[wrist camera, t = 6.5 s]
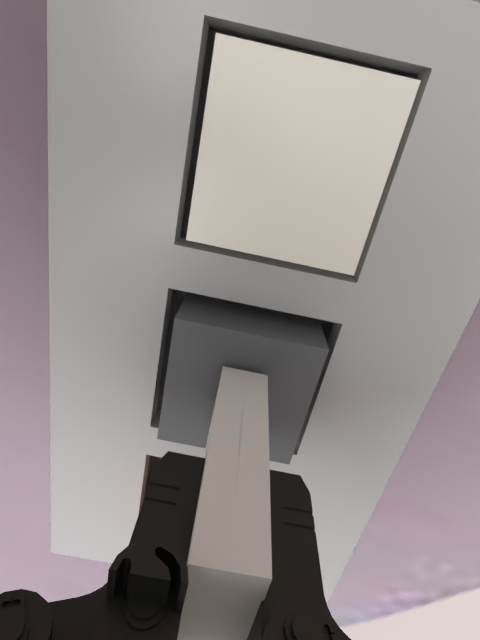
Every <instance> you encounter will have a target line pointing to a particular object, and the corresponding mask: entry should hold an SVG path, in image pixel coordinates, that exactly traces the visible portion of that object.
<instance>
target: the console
mask: <svg viewBox="0 0 480 640" xmlns="http://www.w3.org/2000/svg"><path fill="white" fill-rule="evenodd" d="M216 33H220V34H224V35H228V36H233V37H237V38H241V39H245V40H250V41H254V42H258V43H263V44H267V45H271V46H275V47H280V48H284V49H288V50H293V51H297V52H301V53H305V54H310V55H314V56H318V57H323V58H327V59H331V60H335V61H340V62H344V63H348V64H352V65H357V66H361V67H365V68H370V69H374V70H378V71H382V72H387V73H391V74H395V75H400V76H404V77H408V78H412V79H417V80H421V82H420V85H419V88H418V91H417V93H416V96H415V99H414V102H413V105H412V108H411V111H410V114H409V117H408V120H407V123H406V125H405V128H404V131H403V134H402V137H401V140H400V143H399V146H398V149H397V152H396V155H395V157H394V160H393V163H392V166H391V169H390V172H389V175H388V178H387V181H386V184H385V187H384V189H383V192H382V195H381V198H380V201H379V204H378V207H377V210H376V213H375V216H374V218H373V221H372V224H371V227H370V230H369V233H368V236H367V239H366V242H365V245H364V248H363V250H362V253H361V256H360V259H359V262H358V265H357V268H356V271H355V274H354V276H353V275H348V274H343V273H339V272H334V271H329V270H325V269H320V268H315V267H311V266H306V265H301V264H296V263H292V262H287V261H282V260H278V259H273V258H268V257H264V256H259V255H254V254H249V253H245V252H240V251H235V250H231V249H226V248H221V247H217V246H212V245H207V244H202V243H198V242H193V241H188V240H186V236H187V229H188V222H189V216H190V209H191V202H192V195H193V188H194V181H195V174H196V167H197V160H198V153H199V146H200V139H201V132H202V125H203V118H204V112H205V105H206V98H207V91H208V84H209V77H210V70H211V63H212V56H213V49H214V42H215V35H216ZM47 104H48V230H49V355H50V480H51V552H52V553H57V554H63V555H68V556H74V557H79V558H85V559H90V560H96V561H102V562H107V563H113V562H114V560H115V558H116V556H117V555H118V554H119V553H120V552H121V551H123V550H124V549H125V548H126V547H127V546H128V545H129V542H130V539H131V536H132V533H133V530H134V527H135V524H136V521H137V518H138V515H139V512H140V509H141V506H142V503H143V501H144V497H145V494H146V491H147V488H148V486H149V482H150V479H151V476H152V473H153V470H154V467H155V464H156V463H157V462H158V461H159V458H160V457H161V458H162V457H163V456H164V455H165V454H166V453H167V452H168V451H170V452H175V453H181V454H186V455H191V456H196V457H201V458H204V455H205V449H206V448H201V447H196V446H191V445H185V444H180V443H175V442H170V441H165V440H160V439H157V435H158V428H159V421H160V414H161V407H162V400H163V394H164V387H165V380H166V373H167V366H168V359H169V352H170V345H171V338H172V331H173V324H174V318H175V316H176V314H177V312H178V310H179V308H180V306H181V304H182V302H183V300H184V298H185V296H186V294H187V292H190V293H195V294H200V295H204V296H209V297H214V298H219V299H224V300H228V301H233V302H238V303H243V304H248V305H252V306H257V307H262V308H267V309H272V310H277V311H281V312H286V313H291V314H296V315H301V316H305V317H310V318H315V319H319V320H320V323H321V326H322V329H323V332H324V336H325V339H326V342H327V345H328V348H329V352H328V354H327V357H326V360H325V363H324V366H323V369H322V372H321V375H320V378H319V381H318V383H317V386H316V389H315V392H314V395H313V398H312V401H311V404H310V407H309V410H308V412H307V415H306V418H305V421H304V424H303V427H302V430H301V433H300V436H299V439H298V441H297V444H296V447H295V450H294V453H293V456H292V459H291V462H290V465H289V464H284V463H279V462H274V461H270V470H275V471H280V472H285V473H290V474H296V475H300V476H301V477H302V479H303V481H304V483H305V485H306V486H307V488H308V490H309V492H310V495H311V502H312V510H313V513H312V515H313V517H314V524H315V532H316V539H317V546H318V554H319V561H320V568H321V576H322V583H323V590H324V596H325V600H326V602H328V600H329V598H330V596H331V594H332V592H333V590H334V588H335V586H336V584H337V582H338V580H339V578H340V576H341V574H342V572H343V570H344V568H345V566H346V565H347V563H348V561H349V559H350V557H351V555H352V553H353V551H354V549H355V547H356V545H357V543H358V541H359V539H360V537H361V535H362V533H363V531H364V529H365V527H366V525H367V523H368V521H369V519H370V517H371V515H372V513H373V511H374V509H375V507H376V505H377V503H378V501H379V499H380V497H381V495H382V493H383V491H384V489H385V487H386V485H387V483H388V481H389V479H390V477H391V475H392V473H393V471H394V469H395V467H396V465H397V463H398V461H399V459H400V457H401V455H402V453H403V451H404V449H405V447H406V445H407V443H408V441H409V439H410V437H411V435H412V433H413V431H414V429H415V427H416V425H417V423H418V421H419V419H420V417H421V415H422V413H423V411H424V409H425V407H426V405H427V404H428V402H429V400H430V398H431V396H432V394H433V392H434V390H435V388H436V386H437V384H438V382H439V380H440V378H441V376H442V374H443V372H444V370H445V368H446V366H447V364H448V362H449V360H450V358H451V356H452V354H453V352H454V350H455V348H456V346H457V344H458V342H459V340H460V338H461V336H462V334H463V332H464V330H465V328H466V326H467V324H468V322H469V320H470V318H471V316H472V314H473V312H474V310H475V308H476V306H477V304H478V302H479V300H480V2H477V1H473V0H47Z"/></svg>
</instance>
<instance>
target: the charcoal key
mask: <svg viewBox="0 0 480 640" xmlns="http://www.w3.org/2000/svg"><path fill="white" fill-rule="evenodd" d="M328 352H329V348H328V345H327V342H326V339H325V336H324V332H323V329H322V326H321V323H320V320H319V319H315V318H310V317H305V316H301V315H296V314H291V313H286V312H281V311H277V310H272V309H267V308H262V307H257V306H252V305H248V304H243V303H238V302H233V301H228V300H224V299H219V298H214V297H209V296H204V295H200V294H195V293H190V292H187V294H186V296H185V298H184V300H183V302H182V304H181V306H180V308H179V310H178V312H177V314H176V316H175V318H174V324H173V331H172V338H171V345H170V352H169V359H168V366H167V373H166V380H165V387H164V394H163V400H162V407H161V414H160V421H159V428H158V435H157V439H160V440H165V441H170V442H175V443H180V444H185V445H191V446H196V447H201V448H206V444H207V439H208V433H209V428H210V424H211V419H212V414H213V410H214V405H215V400H216V396H217V391H218V386H219V382H220V377H221V372H222V368H223V366H225V367H230V368H235V369H240V370H245V371H250V372H254V373H259V374H264V375H268V417H269V461H274V462H279V463H284V464H289V465H290V462H291V459H292V456H293V453H294V450H295V447H296V444H297V441H298V439H299V436H300V433H301V430H302V427H303V424H304V421H305V418H306V415H307V412H308V410H309V407H310V404H311V401H312V398H313V395H314V392H315V389H316V386H317V383H318V381H319V378H320V375H321V372H322V369H323V366H324V363H325V360H326V357H327V354H328Z"/></svg>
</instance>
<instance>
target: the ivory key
mask: <svg viewBox="0 0 480 640" xmlns="http://www.w3.org/2000/svg"><path fill="white" fill-rule="evenodd" d="M420 82H421V80H417V79H412V78H408V77H404V76H400V75H395V74H391V73H387V72H382V71H378V70H374V69H370V68H365V67H361V66H357V65H352V64H348V63H344V62H340V61H335V60H331V59H327V58H323V57H318V56H314V55H310V54H305V53H301V52H297V51H293V50H288V49H284V48H280V47H275V46H271V45H267V44H263V43H258V42H254V41H250V40H245V39H241V38H237V37H233V36H228V35H224V34H220V33H216V35H215V42H214V49H213V56H212V63H211V70H210V77H209V84H208V91H207V98H206V105H205V112H204V118H203V125H202V132H201V139H200V146H199V153H198V160H197V167H196V174H195V181H194V188H193V195H192V202H191V209H190V216H189V222H188V229H187V236H186V240H188V241H193V242H198V243H202V244H207V245H212V246H217V247H221V248H226V249H231V250H235V251H240V252H245V253H249V254H254V255H259V256H264V257H268V258H273V259H278V260H282V261H287V262H292V263H296V264H301V265H306V266H311V267H315V268H320V269H325V270H329V271H334V272H339V273H343V274H348V275H353V276H354V274H355V271H356V268H357V265H358V262H359V259H360V256H361V253H362V250H363V248H364V245H365V242H366V239H367V236H368V233H369V230H370V227H371V224H372V221H373V218H374V216H375V213H376V210H377V207H378V204H379V201H380V198H381V195H382V192H383V189H384V187H385V184H386V181H387V178H388V175H389V172H390V169H391V166H392V163H393V160H394V157H395V155H396V152H397V149H398V146H399V143H400V140H401V137H402V134H403V131H404V128H405V125H406V123H407V120H408V117H409V114H410V111H411V108H412V105H413V102H414V99H415V96H416V93H417V91H418V88H419V85H420Z"/></svg>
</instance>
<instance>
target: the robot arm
mask: <svg viewBox="0 0 480 640" xmlns="http://www.w3.org/2000/svg"><path fill="white" fill-rule="evenodd" d="M312 513H313V510H312V502H311V495H310V492H309V490H308V488H307V486H306V485H305V483H304V481H303V479H302V477H301V476H300V475H296V474H290V473H285V472H280V471H275V470H270V461H269V417H268V375H264V374H259V373H254V372H250V371H245V370H240V369H235V368H230V367H225V366H223V368H222V372H221V377H220V382H219V386H218V391H217V396H216V400H215V405H214V410H213V414H212V419H211V424H210V428H209V433H208V439H207V444H206V449H205V455H204V458H201V457H196V456H191V455H186V454H181V453H175V452H170V451H168V452H167V453H166V454H165V455H164V456H163V457H162V458H161V459H160V460H159V461H158V462H157V463H156V464H155V467H154V470H153V473H152V476H151V479H150V482H149V486H148V488H147V491H146V494H145V497H144V501H143V503H142V506H141V509H140V512H139V515H138V518H137V521H136V524H135V527H134V530H133V533H132V536H131V539H130V542H129V545H128V546H127V547H126V548H125V549H124V550H123V551H121V552H120V553H119V554H118V555H117V556H116V558H115V560H114V562H113V563H112V565H111V567H110V568H109V573H108V582H107V583H106V584H105V585H104V586H103V587H101V588H100V589H98V590H96V591H94V592H92V593H90V594H87V595H84V596H81V597H77V598H71V599H66V600H60V601H55V602H49V603H48V602H47V601H46V600H45V599H44V598H43V597H41V596H40V595H39V594H38V593H37V592H32V591H28V590H23V589H20V590H14V591H8V592H4V593H2V594H0V640H351V639H350V638H349V637H348V636H347V635H346V634H345V633H344V632H343V631H342V630H341V629H340V628H339V626H338V625H337V624H336V622H335V621H334V619H333V618H332V616H331V614H330V611H329V609H328V607H327V604H326V600H325V596H324V590H323V583H322V576H321V568H320V561H319V554H318V546H317V539H316V532H315V524H314V517H313V515H312Z"/></svg>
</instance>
